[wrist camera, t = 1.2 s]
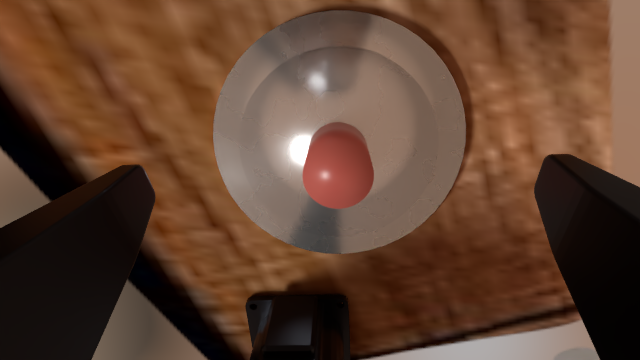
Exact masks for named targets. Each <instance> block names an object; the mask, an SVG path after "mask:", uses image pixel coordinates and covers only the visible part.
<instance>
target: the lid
mask: <svg viewBox="0 0 640 360" xmlns="http://www.w3.org/2000/svg"><path fill="white" fill-rule="evenodd" d="M213 140H214V149H215V155H216V160H217V164H218V168H219V170H220V173H221V176H222V178H223V181H224V183H225V185H226V187H227V189H228V190H229V192H230V194H231V196H232V197H233V199H234V200H235V201H236V203H237V204H238V206H239V207H240V208H241V209H242V210H243V212H244V213H245V214H246V215H247V216H248V217H249V218H250V219H251V220H252V221H253V222H255V223H256V224H257V225H258V226H259V227H260V228H262V229H263V230H265V231H266V232H268V233H269V234H271V235H272V236H274V237H276V238H278V239H280V240H282V241H284V242H286V243H288V244H291V245H293V246H296V247H299V248H302V249H306V250H310V251H314V252H321V253H332V254H346V253H357V252H362V251H367V250H372V249H375V248H378V247H381V246H385V245H387V244H389V243H391V242H394V241H396V240H398V239H400V238H402V237H403V236H405V235H407V234H408V233H410V232H412V231H413V230H414V229H416V228H417V227H418V226H420V225H421V224H422V223H424V222H425V221H426V220H427V219H428V218H429V217H430V216H431V215H432V214H433V213H434V212H435V211H436V209H437V208H438V207H439V206H440V204H441V203H442V202H443V201H444V199H445V198H446V196H447V194H448V193H449V191H450V189H451V188H452V186H453V184H454V181H455V179H456V177H457V175H458V172H459V169H460V166H461V163H462V159H463V155H464V148H465V142H466V122H465V113H464V107H463V104H462V100H461V96H460V93H459V90H458V88H457V86H456V83H455V81H454V78H453V77H452V75H451V73H450V72H449V70H448V68H447V67H446V65H445V63H444V62H443V61H442V60H441V58H440V57H439V56H438V55H437V53H436V52H435V51H434V50H433V49H432V48H431V47H430V46H429V45H428V44H427V43H426V42H424V41H423V40H422V39H421V38H420V37H419V36H417V35H416V34H414V33H413V32H411V31H410V30H408V29H407V28H405V27H404V26H401V25H399V24H397V23H395V22H393V21H391V20H389V19H386V18H383V17H380V16H376V15H373V14H370V13H363V12H357V11H336V10H332V11H324V12H317V13H312V14H308V15H305V16H301V17H298V18H295V19H293V20H290V21H288V22H286V23H284V24H281V25H279V26H277V27H276V28H274V29H273V30H271V31H270V32H268V33H266V34H265V35H263V36H262V37H261V38H260V39H259V40H257V41H256V42H255V43H254V44H253V45H252V46H250V47H249V48H248V49H247V51H246V52H245V53H244V54H243V55H242V56H241V57H240V59H239V60H238V61H237V63H236V64H235V66H234V67H233V69H232V70H231V72H230V73H229V75H228V77H227V79H226V81H225V83H224V85H223V87H222V90H221V92H220V96H219V99H218V102H217V105H216V111H215V117H214V130H213Z"/></svg>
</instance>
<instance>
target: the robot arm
mask: <svg viewBox="0 0 640 360" xmlns="http://www.w3.org/2000/svg"><path fill="white" fill-rule="evenodd" d="M534 194H535V198H536V202H537V205H538V208H539V211H540V214H541V218H542V221H543V224H544V227H545V231H546V234H547V237H548V240H549V244H550V247H551V250H552V252H553V255H554V258H555V260H556V263H557V265H558V267H559V270H560V272H561V274H562V276H563V278H564V281H565V283H566V285H567V287H568V290H569V292H570V294H571V296H572V298H573V301H574V303H575V305H576V307H577V309H578V312H579V314H580V316H581V318H582V320H583V323H584V325H585V327H586V329H587V331H588V334H589V336H590V338H591V340H592V343H593V345H594V347H595V349H596V351H597V354H598V356H599V358H600V360H640V187H638V186H636V185H634V184H632V183H629V182H627V181H625V180H623V179H621V178H619V177H617V176H615V175H613V174H611V173H608V172H606V171H604V170H602V169H600V168H598V167H596V166H594V165H591V164H589V163H587V162H585V161H583V160H581V159H579V158H577V157H575V156H572V155H570V154H551V155H548V156H546V158H545V159H544V161H543V163H542V166H541V169H540V172H539V175H538V178H537V180H536V183H535V188H534ZM154 203H155V192H154V189H153V187H152V185H151V183H150V180H149V178H148V176H147V174H146V172H145V170H144V168H143V167H142V166H140V165H122V166H120V167H118V168H116V169H114V170H112V171H110V172H108V173H106V174H104V175H102V176H100V177H98V178H96V179H95V180H93V181H91V182H89V183H87V184H85V185H83V186H81V187H79V188H77V189H75V190H73V191H71V192H69V193H67V194H66V195H64V196H62V197H60V198H58V199H56V200H54V201H52V202H50V203H48V204H46V205H44V206H42V207H41V208H38V209H37V210H35V211H33V212H31V213H29V214H27V215H25V216H23V217H21V218H19V219H17V220H15V221H13V222H11V223H10V224H7V225H5V226H4V227H2V228H0V360H91V359H92V357H93V355H94V352H95V350H96V348H97V346H98V344H99V341H100V339H101V336H102V335H103V332H104V330H105V328H106V326H107V323H108V321H109V319H110V317H111V314H112V312H113V310H114V307H115V305H116V303H117V301H118V299H119V296H120V294H121V292H122V290H123V287H124V285H125V283H126V281H127V278H128V276H129V274H130V272H131V269H132V267H133V265H134V262H135V260H136V258H137V255H138V252H139V249H140V247H141V244H142V240H143V237H144V234H145V231H146V228H147V225H148V222H149V218H150V215H151V212H152V209H153V206H154ZM338 302H343V304H338ZM252 304H256V306H254V305H252ZM246 312H247V318H248V324H249V330H250V335H251V341H252V347H253V350H252V353H251V357H250V360H350V336H349V309H348V298H347V297H346V296H344V295H340V294H337V295H288V296H252V297H250V298H248V300H247V302H246Z"/></svg>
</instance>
